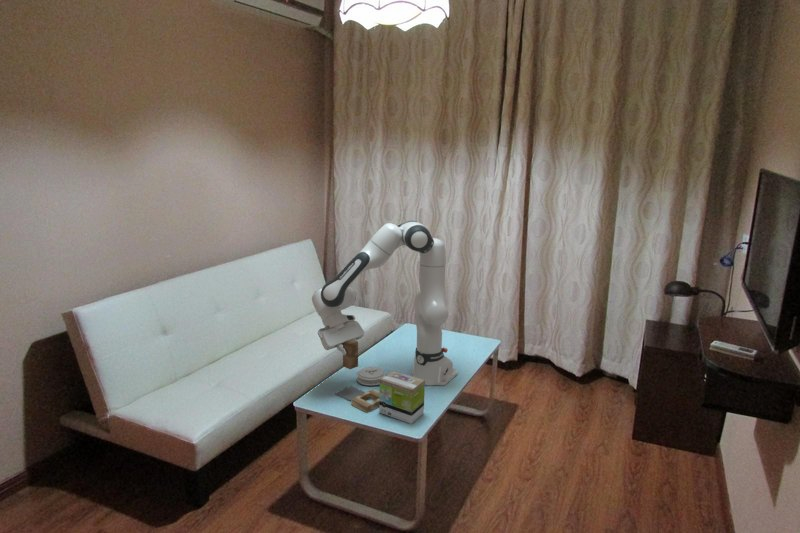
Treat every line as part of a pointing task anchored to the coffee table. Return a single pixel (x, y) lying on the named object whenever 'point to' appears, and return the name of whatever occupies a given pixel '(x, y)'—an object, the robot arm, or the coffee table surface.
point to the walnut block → (350, 354)
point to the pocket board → (363, 404)
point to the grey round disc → (370, 375)
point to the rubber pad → (349, 393)
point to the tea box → (402, 396)
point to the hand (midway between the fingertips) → (351, 352)
